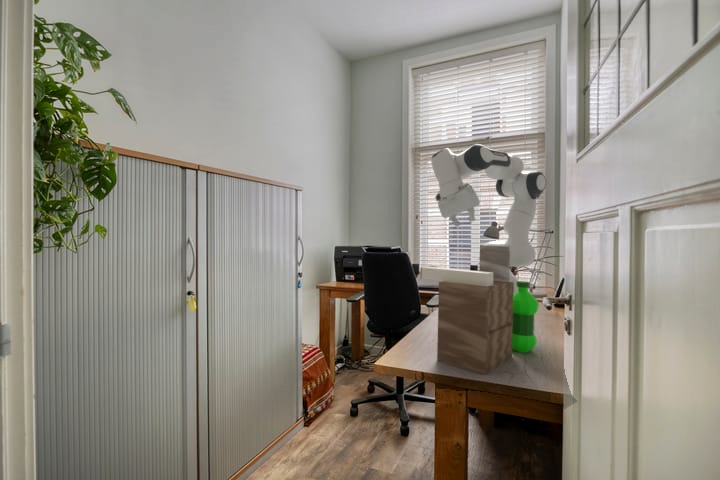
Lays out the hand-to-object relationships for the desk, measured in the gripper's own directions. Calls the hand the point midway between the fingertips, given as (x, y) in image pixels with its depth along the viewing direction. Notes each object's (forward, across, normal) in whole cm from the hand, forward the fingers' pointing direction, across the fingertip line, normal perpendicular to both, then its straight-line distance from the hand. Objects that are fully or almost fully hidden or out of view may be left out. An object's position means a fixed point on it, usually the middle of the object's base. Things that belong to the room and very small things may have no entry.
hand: (464, 223), depth 133 cm
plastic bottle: (+50, -5, 0) cm, 51 cm away
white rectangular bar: (+17, -11, +20) cm, 29 cm away
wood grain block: (+44, -8, +21) cm, 49 cm away
